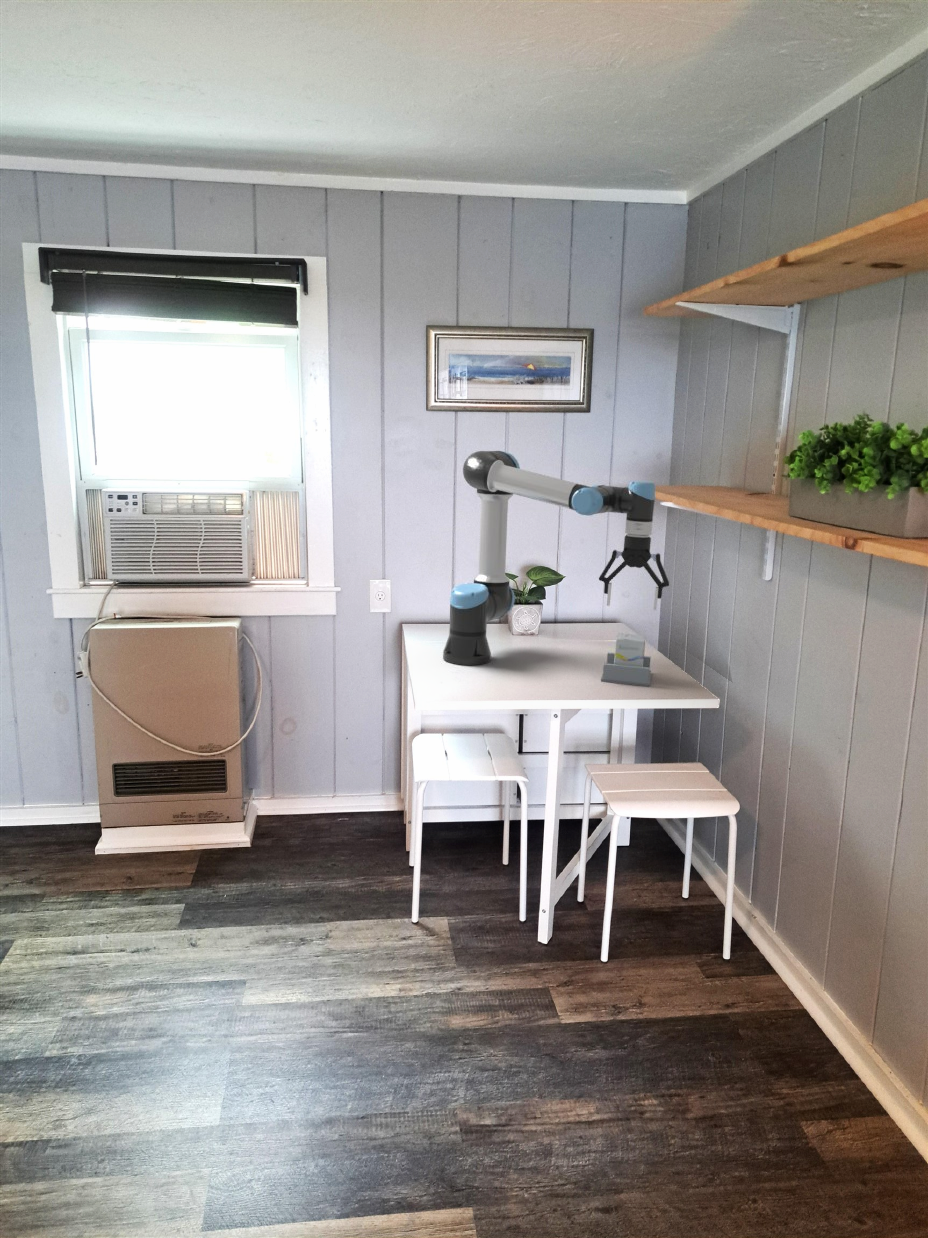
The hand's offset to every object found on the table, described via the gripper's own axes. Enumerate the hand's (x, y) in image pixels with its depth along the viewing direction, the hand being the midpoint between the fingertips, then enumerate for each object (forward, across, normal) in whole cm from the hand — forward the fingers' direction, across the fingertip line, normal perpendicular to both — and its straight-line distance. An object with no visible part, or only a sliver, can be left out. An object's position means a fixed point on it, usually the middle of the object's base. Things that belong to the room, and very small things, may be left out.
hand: (631, 607), depth 248 cm
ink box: (+21, +1, 0) cm, 21 cm away
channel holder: (+22, 0, 0) cm, 22 cm away
